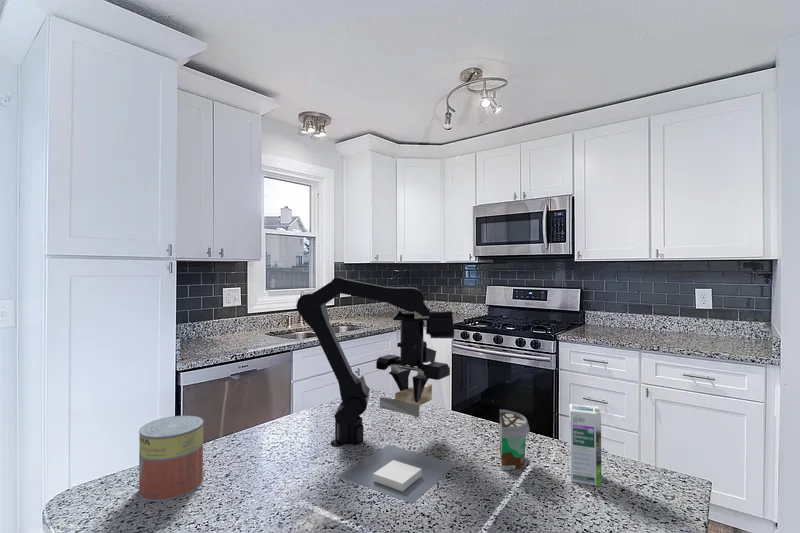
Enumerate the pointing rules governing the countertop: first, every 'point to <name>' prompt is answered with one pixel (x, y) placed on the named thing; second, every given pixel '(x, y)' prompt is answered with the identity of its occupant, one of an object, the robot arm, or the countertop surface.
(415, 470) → the tile
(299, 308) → the robot arm
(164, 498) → the canned food
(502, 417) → the food container
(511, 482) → the countertop surface
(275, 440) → the countertop surface
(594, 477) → the syrup box
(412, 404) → the block
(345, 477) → the slate board
